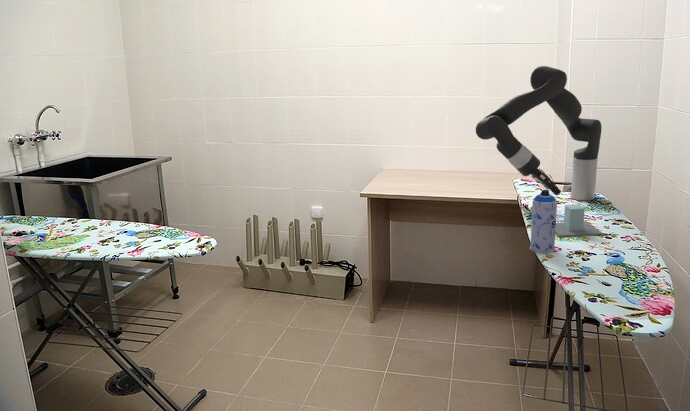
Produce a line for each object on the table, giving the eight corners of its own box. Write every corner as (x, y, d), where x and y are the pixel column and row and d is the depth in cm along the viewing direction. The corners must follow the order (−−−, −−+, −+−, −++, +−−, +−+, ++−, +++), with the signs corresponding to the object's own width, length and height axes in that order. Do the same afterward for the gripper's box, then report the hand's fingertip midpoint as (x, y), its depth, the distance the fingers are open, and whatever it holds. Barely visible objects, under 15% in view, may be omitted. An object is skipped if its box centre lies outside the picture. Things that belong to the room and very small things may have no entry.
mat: (546, 225, 210) (546, 223, 210) (587, 223, 210) (587, 221, 210) (559, 237, 197) (559, 235, 197) (602, 234, 197) (602, 233, 197)
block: (563, 226, 206) (565, 205, 204) (577, 225, 206) (578, 204, 204) (569, 230, 201) (570, 209, 199) (583, 230, 201) (584, 208, 199)
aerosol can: (551, 255, 182) (555, 194, 176) (526, 251, 186) (529, 192, 181) (557, 247, 188) (560, 188, 183) (533, 243, 193) (535, 186, 187)
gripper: (538, 156, 188) (570, 187, 192) (524, 148, 202) (554, 178, 205) (521, 172, 190) (553, 203, 193) (509, 163, 204) (539, 192, 207)
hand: (554, 190), depth 199 cm, fingers open, 8 cm apart
